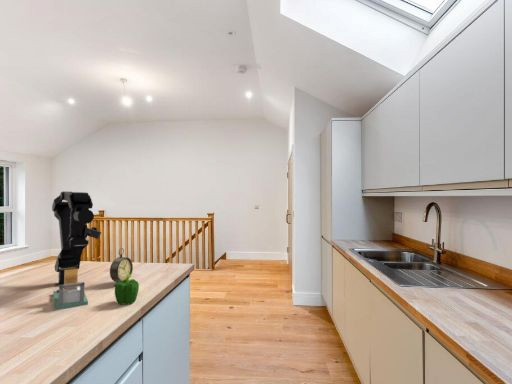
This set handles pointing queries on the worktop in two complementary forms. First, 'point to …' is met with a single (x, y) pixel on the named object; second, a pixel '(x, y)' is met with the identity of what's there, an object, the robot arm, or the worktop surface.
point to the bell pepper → (126, 291)
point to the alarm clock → (121, 268)
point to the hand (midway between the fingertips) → (77, 259)
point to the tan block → (71, 278)
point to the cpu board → (67, 305)
